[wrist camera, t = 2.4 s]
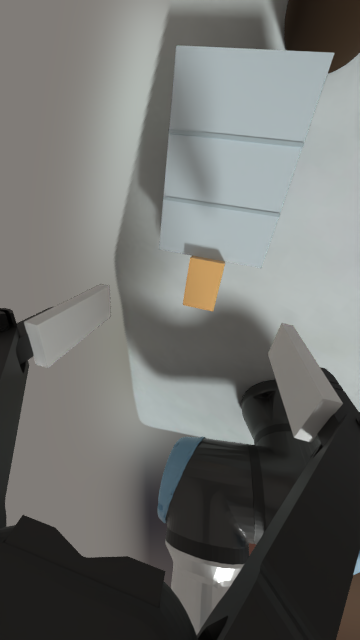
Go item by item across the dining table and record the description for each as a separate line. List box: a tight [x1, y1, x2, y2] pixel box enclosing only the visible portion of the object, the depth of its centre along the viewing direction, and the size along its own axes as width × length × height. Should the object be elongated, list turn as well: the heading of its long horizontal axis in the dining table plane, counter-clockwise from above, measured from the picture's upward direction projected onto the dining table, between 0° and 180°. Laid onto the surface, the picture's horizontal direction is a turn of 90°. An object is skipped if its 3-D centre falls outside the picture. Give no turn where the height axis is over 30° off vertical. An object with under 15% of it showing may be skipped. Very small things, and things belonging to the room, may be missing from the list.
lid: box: [159, 45, 334, 311], centre depth 21 cm, size 23×13×4 cm, turn 172°
